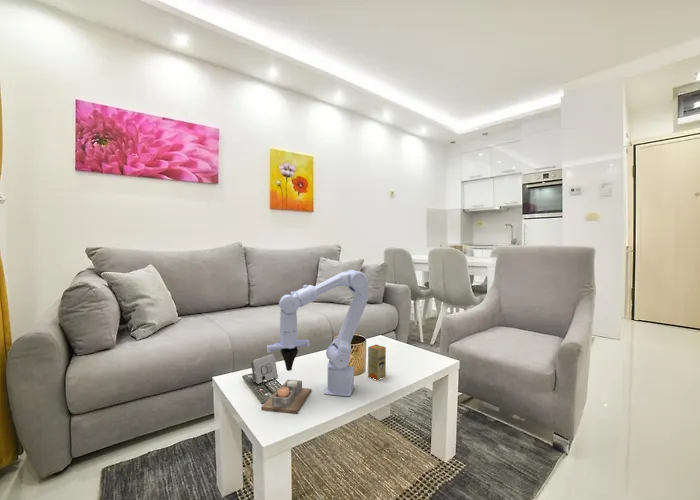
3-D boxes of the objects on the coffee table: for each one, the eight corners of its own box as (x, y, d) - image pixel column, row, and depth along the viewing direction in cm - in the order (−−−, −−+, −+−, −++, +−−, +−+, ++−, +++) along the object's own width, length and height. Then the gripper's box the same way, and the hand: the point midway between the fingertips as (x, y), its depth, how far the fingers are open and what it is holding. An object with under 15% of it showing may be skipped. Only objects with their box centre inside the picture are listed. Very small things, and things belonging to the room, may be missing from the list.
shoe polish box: (368, 377, 124) (368, 347, 124) (375, 373, 128) (376, 344, 127) (377, 380, 121) (377, 350, 120) (385, 377, 124) (385, 347, 124)
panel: (311, 391, 112) (311, 380, 112) (297, 413, 97) (297, 401, 97) (280, 388, 114) (280, 377, 114) (261, 410, 99) (261, 397, 99)
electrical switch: (258, 386, 116) (256, 361, 116) (250, 383, 119) (248, 359, 119) (278, 378, 123) (276, 354, 123) (270, 376, 126) (268, 352, 127)
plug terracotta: (290, 396, 103) (290, 387, 103) (286, 401, 99) (286, 392, 99) (280, 395, 103) (280, 386, 103) (275, 400, 100) (275, 391, 100)
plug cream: (298, 389, 111) (298, 380, 111) (295, 393, 107) (295, 385, 107) (289, 388, 111) (289, 379, 111) (285, 392, 108) (285, 384, 108)
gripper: (269, 336, 100) (270, 378, 100) (312, 330, 106) (312, 369, 107) (265, 330, 106) (265, 370, 106) (305, 325, 113) (306, 362, 113)
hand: (288, 369), depth 107 cm, fingers closed
